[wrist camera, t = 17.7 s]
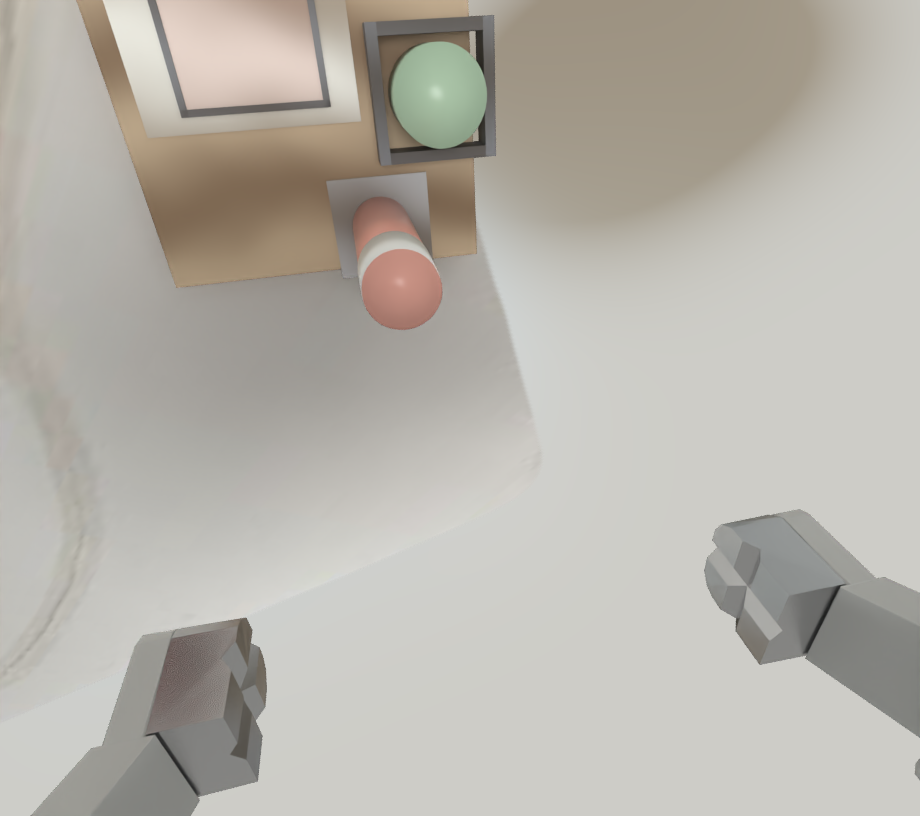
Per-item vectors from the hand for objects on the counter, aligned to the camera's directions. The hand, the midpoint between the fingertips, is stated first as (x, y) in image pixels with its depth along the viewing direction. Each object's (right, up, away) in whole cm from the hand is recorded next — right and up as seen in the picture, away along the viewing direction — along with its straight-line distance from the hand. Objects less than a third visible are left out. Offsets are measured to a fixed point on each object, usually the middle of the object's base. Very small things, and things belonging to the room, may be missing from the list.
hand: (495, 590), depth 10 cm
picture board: (-8, +20, +16) cm, 27 cm away
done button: (-2, +18, +17) cm, 25 cm away
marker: (-5, +13, +20) cm, 24 cm away
